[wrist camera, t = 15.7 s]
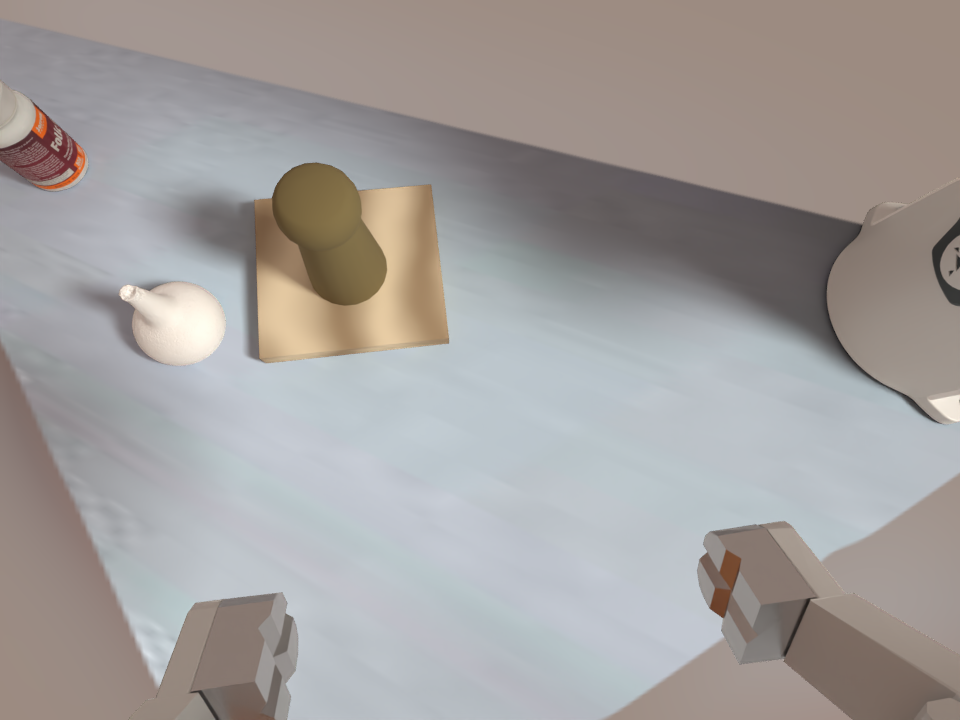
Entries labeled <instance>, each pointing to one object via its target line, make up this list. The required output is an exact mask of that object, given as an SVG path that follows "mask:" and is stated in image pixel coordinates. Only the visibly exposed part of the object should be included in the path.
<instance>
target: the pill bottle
mask: <svg viewBox="0 0 960 720" xmlns="http://www.w3.org/2000/svg"><path fill="white" fill-rule="evenodd" d="M0 160H1V161H2V162H3V163H5V164H6V165H8V166H9V167H10V168H12V169H13V170H14V171H16V172H17V173H19V174H20V175H21V176H23V177H24V178H25V179H26V180H28V181H30V182H31V183H32V184H34V185H35V186H37V187H38V188H40V189H43V190H47V191H61V190H65V189H68V188H71V187H73V186H74V185H76V184H77V183H79V182H80V181H81V179H82V178H83V177H84V175H85V174H86V171H87V169H88V157H87V154H86V152H85V151H84V149H83V148H82V147H81V146H80V145H78V144H77V143H76V142H75V141H74V140H73V139H72V138H71V137H70V136H69V135H68V134H67V133H66V132H65V131H63V130H62V129H61V128H60V127H59V126H58V125H57V124H56V123H55V122H54V121H53V120H52V119H50V118H49V117H48V116H47V115H46V114H45V113H44V112H43V111H42V110H41V109H39V107H38V106H37V105H35V104H34V103H33V102H32V101H31V100H30V99H29V98H28V97H26V96H25V95H23V94H22V93H20V92H17V91H15V90H11V89H10V88H9V87H8V86H7V85H6V84H5V83H3V82H2V81H1V80H0Z"/></svg>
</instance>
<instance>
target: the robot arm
mask: <svg viewBox="0 0 960 720" xmlns="http://www.w3.org/2000/svg"><path fill="white" fill-rule="evenodd" d="M827 305H828V311H829V316H830V319H831V323H832V325H833V328H834V330H835V333H836V335H837V337H838V339H839V340H840V342H841V344H842V345H843V347H844V348H845V350H846V351H847V353H848V354H849V355H850V356H851V357H852V359H853V360H854V361H855V362H856V363H857V364H858V365H859V366H860V367H861V368H862V369H863V370H864V371H866V372H867V373H868V374H869V375H871V376H872V377H873V378H875V379H876V380H878V381H880V382H881V383H883V384H885V385H887V386H889V387H891V388H893V389H895V390H897V391H899V392H901V393H903V394H905V395H907V396H909V397H910V398H912V399H913V400H914V401H915V402H916V403H917V404H918V405H919V406H920V407H921V408H922V409H923V410H924V411H925V412H926V413H927V414H928V415H929V416H930V417H932V418H933V419H934V420H936V421H937V422H939V423H942V424H952V423H956V422H960V404H959V401H960V177H958V178H956V179H954V180H952V181H950V182H948V183H947V184H945V185H943V186H941V187H939V188H937V189H935V190H934V191H932V192H930V193H928V194H926V195H924V196H922V197H921V198H919V199H917V200H915V201H913V202H911V203H909V204H905V203H894V202H884V203H881V204H879V205H877V206H875V207H874V208H872V209H870V210H869V212H868V213H867V215H866V217H865V220H864V222H863V225H862V229H861V232H860V234H859V235H858V236H857V237H856V239H855V240H854V241H853V242H851V243H850V244H849V245H848V246H847V247H846V248H845V249H844V250H843V251H842V252H841V254H840V255H839V256H838V258H837V259H836V261H835V263H834V265H833V267H832V269H831V272H830V275H829V279H828V285H827ZM703 545H704V547H705V549H706V550H707V553H706V554H705V555H704V556H702V557H701V558H700V559H699V564H698V569H697V574H698V581H699V586H700V589H701V592H702V594H703V597H704V599H705V601H706V603H707V605H708V607H709V609H711V610H712V611H714V612H715V613H716V614H718V615H719V616H721V617H722V618H723V622H722V628H721V631H722V633H723V635H724V637H725V639H726V640H727V642H728V644H729V646H730V648H731V650H732V652H733V653H734V655H735V657H736V659H737V661H738V663H739V664H740V665H741V664H748V663H756V662H764V661H772V660H779V659H784V662H785V663H786V664H787V665H788V666H789V667H791V668H792V669H793V670H794V671H795V672H797V673H798V674H799V675H800V676H801V677H803V678H804V679H805V680H806V681H807V682H809V683H810V684H811V685H812V686H813V687H815V688H816V689H817V690H818V691H819V692H820V693H821V694H823V695H824V696H825V697H826V698H827V699H829V700H830V701H831V702H832V703H833V704H834V705H836V706H837V707H838V708H839V709H841V710H842V711H843V712H844V713H845V714H846V715H848V716H849V717H850V718H851V719H852V720H960V655H959V654H957V653H955V652H954V651H952V650H950V649H949V648H947V647H945V646H943V645H942V644H940V643H938V642H937V641H935V640H933V639H932V638H930V637H928V636H926V635H925V634H923V633H921V632H920V631H918V630H916V629H915V628H913V627H911V626H909V625H908V624H906V623H904V622H903V621H901V620H899V619H897V618H896V617H894V616H892V615H891V614H889V613H887V612H885V611H884V610H882V609H880V608H879V607H877V606H875V605H873V604H872V603H870V602H868V601H867V600H865V599H863V598H861V597H859V596H858V595H856V594H855V593H849V594H846V593H845V592H844V591H843V590H842V588H841V587H840V586H839V584H838V583H837V582H836V581H835V579H834V578H833V577H832V576H831V575H830V573H829V572H828V571H827V569H826V568H825V567H824V566H823V564H822V563H821V562H820V561H819V559H818V558H817V557H816V556H815V554H814V553H813V552H812V551H811V549H810V548H809V547H808V546H807V544H806V543H805V542H804V541H803V539H802V538H801V537H800V536H799V534H798V533H797V532H796V531H795V529H794V528H793V527H792V526H791V525H790V524H788V523H787V522H785V521H780V522H773V523H767V524H761V525H756V524H755V525H748V526H742V527H736V528H729V529H723V530H716V531H710V532H709V533H708V534H706V535H705V539H704V542H703ZM286 608H287V601H286V599H285V597H284V595H283V592H280V593H272V594H264V595H255V596H247V597H238V598H230V599H221V600H213V601H206V602H199V603H195V604H194V605H193V607H192V608H191V609H190V611H189V612H188V614H187V616H186V619H185V621H184V624H183V627H182V629H181V632H180V635H179V637H178V640H177V643H176V645H175V648H174V651H173V653H172V656H171V658H170V661H169V664H168V666H167V669H166V672H165V674H164V677H163V680H162V682H161V685H160V688H159V690H158V693H157V695H156V698H154V699H149V700H146V701H145V702H144V703H143V704H142V705H141V706H140V707H139V708H138V709H137V710H136V712H135V713H134V714H133V715H132V716H131V717H130V718H129V719H128V720H287V717H288V711H289V706H290V700H291V695H290V693H289V691H288V689H287V686H286V682H287V681H288V680H289V679H290V677H291V676H292V675H293V673H294V672H295V671H296V665H297V658H298V632H297V626H296V623H295V621H294V618H293V617H291V616H289V615H287V614H286Z"/></svg>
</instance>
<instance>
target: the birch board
mask: <svg viewBox="0 0 960 720" xmlns="http://www.w3.org/2000/svg"><path fill="white" fill-rule="evenodd" d="M358 193H359V195H360V199H361V207H362V215H361V219H362V220H363V222H364V223H365V225H366V226H367V228H368V229H369V231H370V232H371V234H372V235H373V237H374V238H375V240H376V241H377V243H378V244H379V246H380V247H381V249H382V251H383V253H384V255H385V258H386V262H387V274H386V278H385V281H384V283H383V285H382V286H381V288H380V289H379V291H378V292H377V293H376V294H375V295H373V296H372V297H371V298H370V299H369V300H366V301H364V302H362V303H359V304H356V305H347V306H343V305H338V304H333V303H331V302H329V301H327V300H325V299H323V298H321V296H320V295H319V294H318V293H317V292H316V291H315V290H314V289H313V286H312V284H311V282H310V279H309V277H308V274H307V271H306V268H305V265H304V262H303V259H302V256H301V253H300V250H299V247H298V245H297V244H295V243H294V242H292V241H290V240H289V239H288V238H287V237H286V236H285V235H284V233H283V232H282V231H281V230H280V229H279V227H278V225H277V223H276V221H275V218H274V216H273V211H272V198H271V199H260V200H254V201H255V234H256V266H257V298H258V330H259V359H261V360H262V361H264V362H265V363H273V362H283V361H292V360H301V359H310V358H319V357H328V356H338V355H347V354H356V353H365V352H374V351H383V350H393V349H402V348H411V347H420V346H429V345H438V344H448V343H449V335H448V326H447V318H446V309H445V300H444V292H443V283H442V275H441V266H440V257H439V249H438V240H437V231H436V223H435V214H434V206H433V197H432V188H431V185H420V186H408V187H397V188H385V189H374V190H363V191H358Z"/></svg>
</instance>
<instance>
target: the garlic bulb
mask: <svg viewBox="0 0 960 720" xmlns="http://www.w3.org/2000/svg"><path fill="white" fill-rule="evenodd" d="M119 296H120V297H121V298H122V299H123V300H125V301H127V302H129V304H131V305H132V306H133V307H134V308H135V311H134V314H133V319H132V328H133V334H134V337H135V339H136V342H137V343H138V345H139V346H140V348H141V349H142V350H143V351H144V352H145V353H146V354H147V355H148V356H150V357H151V358H153V359H154V360H156V361H158V362H160V363H163V364H168V365H172V366H173V365H174V366H185V365H190V364H194V363H197V362H199V361H202V360H203V359H205V358H207V357H208V356H209V355H211V354H212V353H213V352H214V351H215V350H216V349H217V348H218V346H219V345H220V343H221V341H222V339H223V337H224V333H225V329H226V318H225V314H224V311H223V308H222V306H221V305H220V303H219V302H218V300H217V299H216V298H215V297H214V296H213V295H212V294H211V293H210V292H209V291H207V290H206V289H204V288H202V287H200V286H198V285H196V284H192V283H187V282H170V283H165V284H162V285H159V286H157V287H155V288H153V289H152V290H150V291H148V290H145V289H142V288H138V287H137V286H131V285H125V286H123V287H122V288H121V289H120V291H119Z"/></svg>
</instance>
